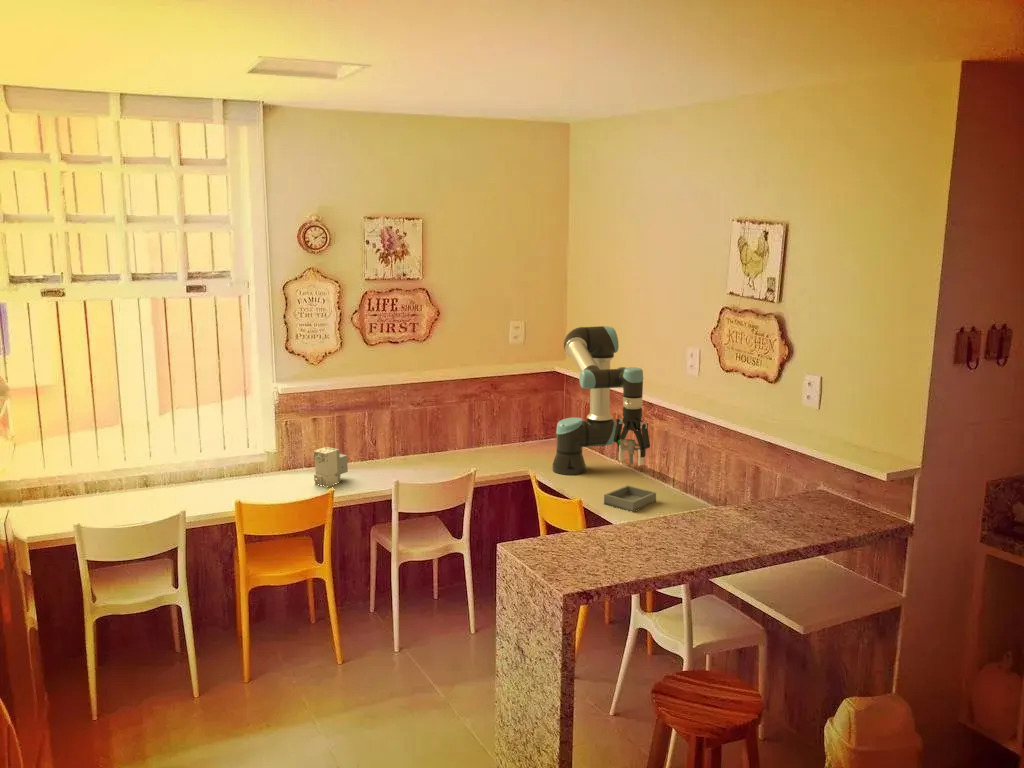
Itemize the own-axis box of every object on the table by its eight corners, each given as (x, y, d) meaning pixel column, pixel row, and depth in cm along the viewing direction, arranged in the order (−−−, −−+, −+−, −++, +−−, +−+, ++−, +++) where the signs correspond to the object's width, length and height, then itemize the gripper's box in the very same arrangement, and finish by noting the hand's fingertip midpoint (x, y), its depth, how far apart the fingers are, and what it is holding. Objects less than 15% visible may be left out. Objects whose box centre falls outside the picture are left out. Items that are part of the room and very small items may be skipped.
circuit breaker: (350, 479, 388) (349, 446, 385) (326, 487, 377) (325, 453, 374) (338, 476, 393) (337, 443, 389) (314, 484, 381) (312, 450, 378)
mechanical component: (643, 466, 351) (644, 441, 349) (617, 465, 353) (617, 440, 352) (644, 464, 354) (644, 439, 352) (618, 462, 356) (618, 438, 354)
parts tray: (627, 494, 368) (627, 485, 367) (655, 502, 358) (656, 492, 358) (604, 504, 356) (604, 494, 355) (632, 512, 347) (633, 502, 346)
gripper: (604, 404, 353) (603, 459, 358) (649, 413, 339) (648, 469, 344) (616, 401, 359) (614, 455, 364) (660, 409, 345) (658, 465, 349)
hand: (631, 462), depth 354 cm, fingers closed on mechanical component, 9 cm apart
